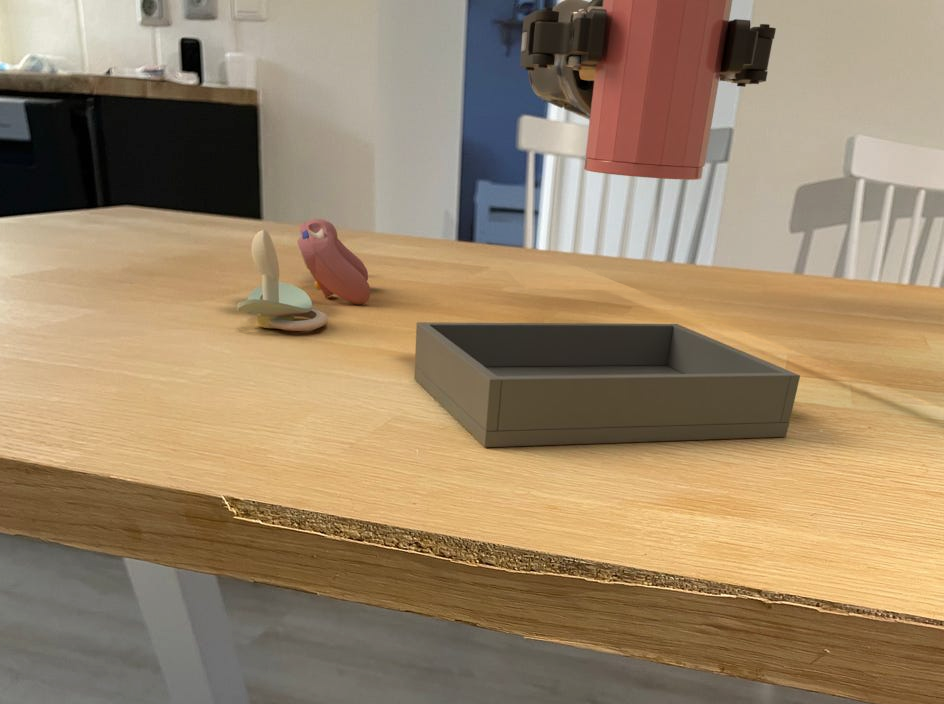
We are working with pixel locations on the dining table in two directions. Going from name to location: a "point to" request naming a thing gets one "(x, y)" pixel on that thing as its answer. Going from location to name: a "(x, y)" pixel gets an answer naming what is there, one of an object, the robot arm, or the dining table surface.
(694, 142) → the tumbler
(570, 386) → the shallow grey tray
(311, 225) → the pink owl figurine
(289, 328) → the pacifier
